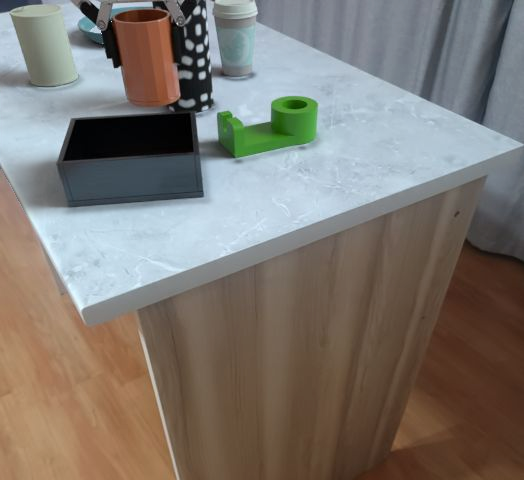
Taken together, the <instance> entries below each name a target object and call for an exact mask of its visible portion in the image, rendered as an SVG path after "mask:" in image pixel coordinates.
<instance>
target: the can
mask: <svg viewBox="0 0 524 480" xmlns="http://www.w3.org/2000/svg"><path fill="white" fill-rule="evenodd" d="M9 16H10V18H11V22H12V24H13V27H14V31H15V34H16V37H17V41H18V44H19V47H20V50H21V53H22V56H23V59H24V64H25V66H26V71H27V74H28V76H29V82H30V83H31V85H34V86H37V87H42V88H43V87H58V86H64V85H68V84H71V83H73V82H75V81H76V80H78V78H79V73H78V70H77V67H76V63H75V60H74V54H73V52H72V47H71V43H70V40H69V35H68V31H67V27H66V23H65V18H64V14H63V7H61V6H60V5H56V4H50V3H49V4H47V3H46V4H45V3H44V4H43V3H42V4H30V5H24V6H19V7H16V8H13V9H11V10H10V11H9Z"/></svg>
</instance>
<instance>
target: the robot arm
mask: <svg viewBox="0 0 524 480" xmlns="http://www.w3.org/2000/svg"><path fill="white" fill-rule="evenodd" d="M69 1H70V2H71V3H72V4H73V5H74V6H75V7H76V8H77V9H78V10H80V12H81V14H82V15H84V17H85V16H86V17H87V18H88V19H90V20H91V21H92V22H93V23H94V24H95V25H96V26H97V28H98V29H99V30H101V33H102V38H103V43H104V44H103V47H104V51H105V57H106V60H111V61H112V67H113V69H119V68H121V67H120V62H119V57H118V51H117V46H116V41H115V36H114V31H113V26H112V22H111V19H110V14H111V10H112V9H113V5H114V4H132V3H149V2H151V3H152V2H153V1H164V3H165V5H166V7H167V9H168V10H169V12H170V14H171V16H172V18H173V23H172V35H173V43H174V51H175V59H176V63H178V65H179V64H182V57H181V55H182V54H187V52H186V43H185V34H184V25H185V22H186V21H187V19H188V18H189V16H190V15H191V14H192V12H193V11H194V10H195V8H196V6H197V4H198V3H199V1H200V0H184V1H183V3H182V4H181V5H180V4H179V2H178V0H96V1H97V2H99V3H100V5H99V8H98V6H96V5H95V4H94V3H93V2H92V1H90V0H69Z"/></svg>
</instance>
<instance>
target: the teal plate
mask: <svg viewBox="0 0 524 480" xmlns="http://www.w3.org/2000/svg"><path fill="white" fill-rule="evenodd" d="M148 8H149V9H153V6H125V7H117V8H112V10H111V14H110V19H111V18H112V16H113V15H114V14H116V13H119V12H122V11H126V10H133V9H148ZM95 26H96V25H95V24H94V23H93V22H92V21H91V20H90V19H88V18H87V17H86V16H85V15H84V16H83V17H82V18H81V19H79V20H78V22H77V27H78V28H79V30H80V32H81V33H82V34H83V35H84V36H86V37H87V38H88V39H90V40H91V41H93V42H95V41H96V42H95V43H97V44H101V45H104V43H103V38H102V34H101V33H94V32H90V30H91V29H92V28H94V27H95ZM98 42H99V43H98ZM102 43H103V44H102Z"/></svg>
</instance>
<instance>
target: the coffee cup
mask: <svg viewBox="0 0 524 480" xmlns="http://www.w3.org/2000/svg"><path fill="white" fill-rule="evenodd" d="M212 7H213V8H212V13H211V15H212V16H213V18H214V25H215V32H216V36H217V43H218V50H219V51H218V52H219V57H220V62H221V69H222V73H223V74H224V75H225V76H229V77H245V76H248V75H250V74H251V73H252V72H253V63H254V49H255V37H256V24H257V23H256V22H257V15H258V13H259V11H258V7H257V5H256V1H255V0H214V1H213V6H212Z"/></svg>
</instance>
